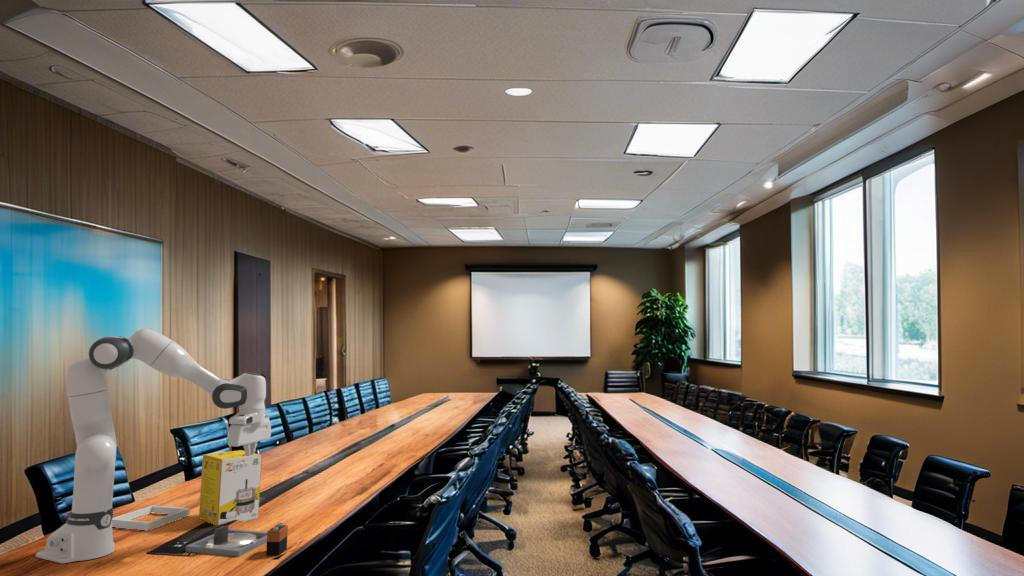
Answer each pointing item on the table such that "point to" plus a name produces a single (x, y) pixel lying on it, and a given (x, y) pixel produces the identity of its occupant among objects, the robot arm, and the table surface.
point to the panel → (209, 548)
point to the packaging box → (230, 487)
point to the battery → (277, 540)
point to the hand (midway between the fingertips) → (249, 455)
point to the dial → (230, 539)
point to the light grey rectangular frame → (127, 523)
